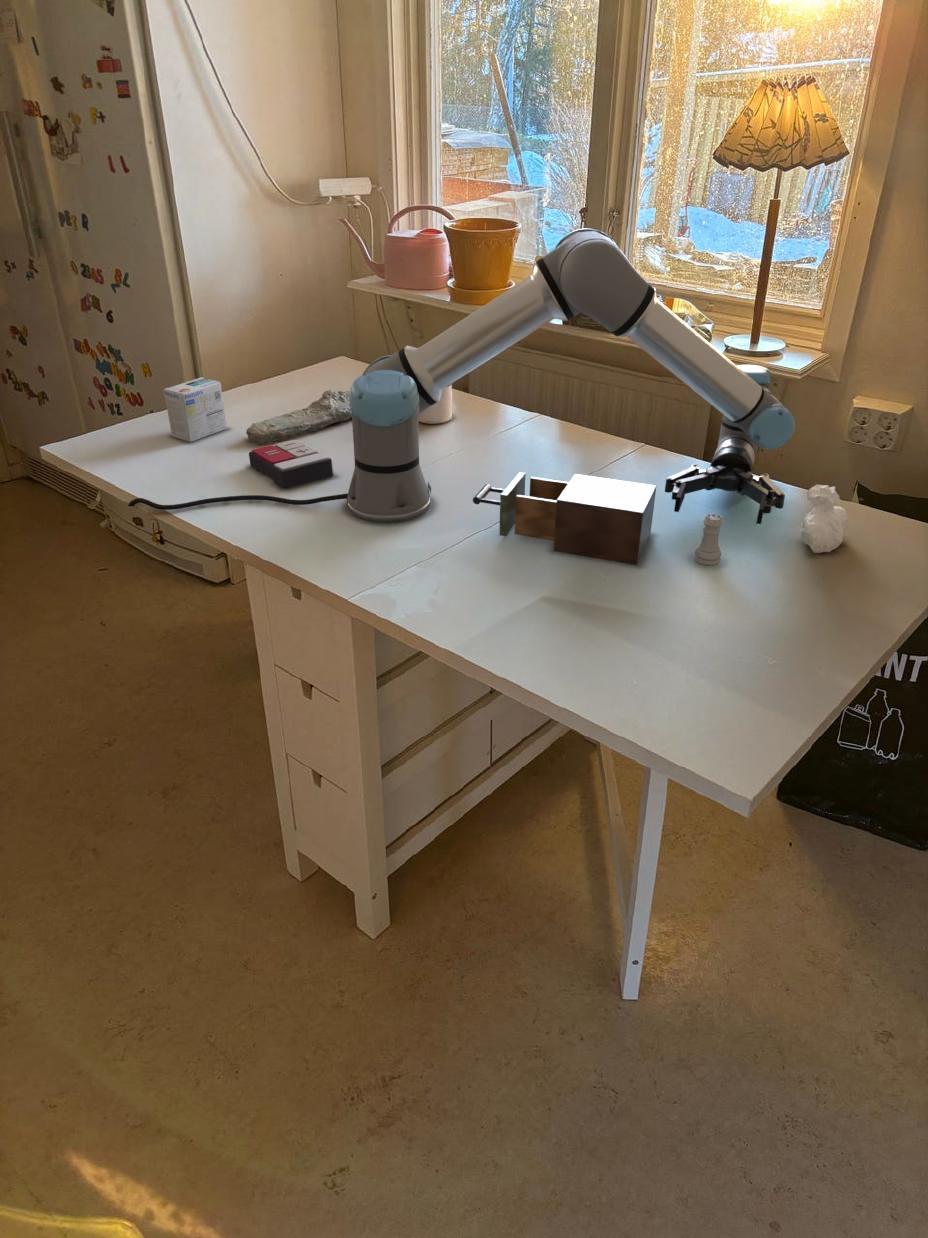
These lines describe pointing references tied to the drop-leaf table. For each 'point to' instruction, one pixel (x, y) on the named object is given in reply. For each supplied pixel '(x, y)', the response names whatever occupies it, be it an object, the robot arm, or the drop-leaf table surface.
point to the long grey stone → (303, 418)
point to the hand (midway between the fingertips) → (718, 510)
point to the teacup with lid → (439, 409)
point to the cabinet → (604, 518)
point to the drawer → (526, 506)
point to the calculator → (291, 463)
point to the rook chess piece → (709, 541)
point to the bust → (824, 520)
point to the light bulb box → (195, 409)
